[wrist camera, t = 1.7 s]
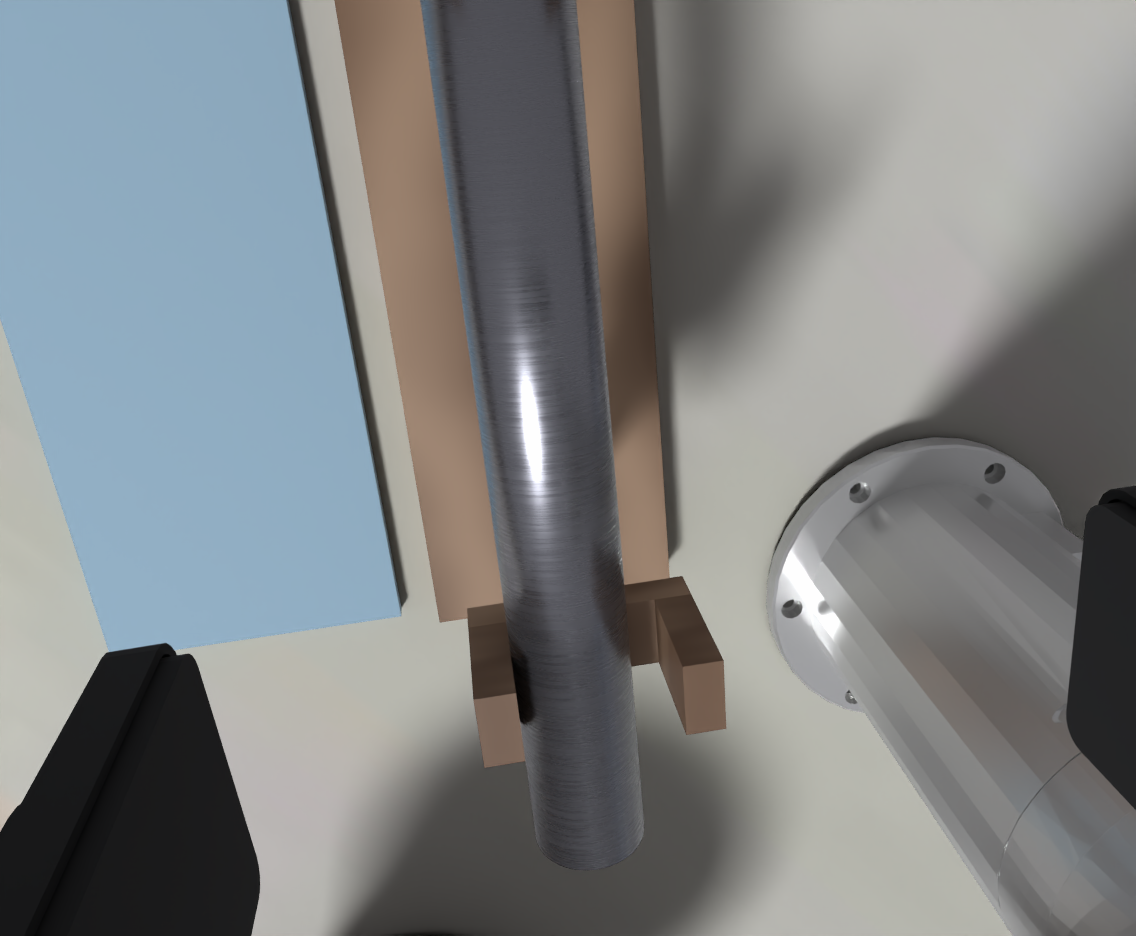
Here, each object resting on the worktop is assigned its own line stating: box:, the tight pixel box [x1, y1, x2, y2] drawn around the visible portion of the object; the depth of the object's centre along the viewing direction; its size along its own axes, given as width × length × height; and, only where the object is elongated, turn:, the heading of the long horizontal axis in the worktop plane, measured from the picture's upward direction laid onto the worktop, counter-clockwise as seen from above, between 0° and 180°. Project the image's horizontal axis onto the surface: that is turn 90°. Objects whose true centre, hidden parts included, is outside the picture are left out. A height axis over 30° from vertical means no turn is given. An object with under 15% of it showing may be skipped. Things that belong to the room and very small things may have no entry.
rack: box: [335, 0, 726, 768], centre depth 27 cm, size 9×28×15 cm, turn 5°
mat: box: [0, 0, 401, 652], centre depth 32 cm, size 11×32×1 cm, turn 5°
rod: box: [420, 0, 644, 870], centre depth 22 cm, size 28×3×3 cm, turn 5°
